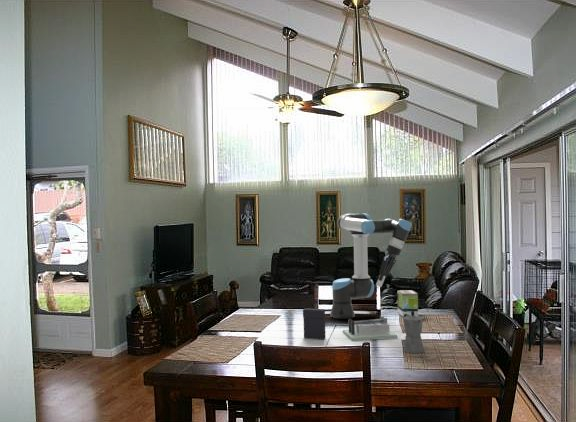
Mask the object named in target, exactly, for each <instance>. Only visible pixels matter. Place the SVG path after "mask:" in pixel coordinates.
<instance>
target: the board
mask: <svg viewBox="0 0 576 422" xmlns="http://www.w3.org/2000/svg"><path fill="white" fill-rule="evenodd" d="M342 334H343V335H345V336H346V337H347V338H348V339H349V340H350V341H353V342H355V341H371V340H385V339H387V340H388V339H389V340H390V339H398V334H396V333H395V332H393V331H392V330H390V334H382V335H365V336H359V335H357V334H356V333H355V335H351V333H349V329H342Z"/></svg>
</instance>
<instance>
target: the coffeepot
mask: <svg viewBox="0 0 576 422" xmlns="http://www.w3.org/2000/svg"><path fill="white" fill-rule="evenodd" d="M402 320H403V325H404V327H403V328H404V332H405V338H404V344H403V345H404V346H403V351H404V352H406V353H409V354H420V353H424V345H423V339H422V335H421V333H422V332H423V331H422V330H423V324H424V323H423V321H424V317H422V316H419V315H418V316H414V312H413V311H412V312H411V316H410V315H407V314H405V315H404V317H402Z"/></svg>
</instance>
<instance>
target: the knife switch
mask: <svg viewBox="0 0 576 422" xmlns="http://www.w3.org/2000/svg"><path fill="white" fill-rule="evenodd" d="M382 318H383V322H375V323H364V324H355V325H354V321H355V320H353V319H352V318H347V319H348V330H349V333H351V335H355V333H356V334H357V335H359V336H365V335H382V334H390V331H391V330H390V323H388V318H387V317H385V316H383V315H381V316H380V315H379V319H382Z"/></svg>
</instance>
